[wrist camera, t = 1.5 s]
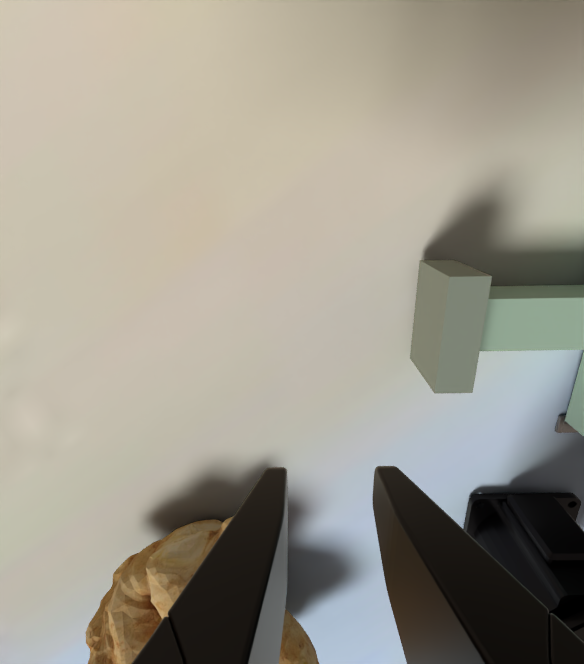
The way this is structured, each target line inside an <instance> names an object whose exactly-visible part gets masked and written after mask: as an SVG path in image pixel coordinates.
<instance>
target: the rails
mask: <svg viewBox="0 0 584 664" xmlns="http://www.w3.org/2000/svg"><path fill="white" fill-rule="evenodd" d="M565 418H566V415H559V416H558V420H557V424H556V427H555V431H556V432H557V433H571V432H578V431H576V430H575V429H574V428H573V427H572V426H570V425H569V424H568V423H567V422H566V421H565Z"/></svg>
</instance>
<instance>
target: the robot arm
mask: <svg viewBox="0 0 584 664" xmlns="http://www.w3.org/2000/svg"><path fill="white" fill-rule="evenodd" d="M479 502H480V503H479ZM580 505H581V501H580V500H579V499H578V497H577V496H576V495H575V494H573V493H522V494H475V495H473V496H471V497H470V499H469V502H468V507H467V513H466V518H465V523H464V529H462V528H461V527H460V526H459V525H458V524H457V523H456V522H455V521H454V520H453V519H452V518H451V517H450V516H449V515H447V514H446V513H445V512H444V511H443V510H442V509H441V508H440V507H439V506H438V505H437V504H436V503H435V502H434V501H433V500H431V499H430V498H429V497H428V496H427V495H426V494H425V493H424V492H423V491H422V490H421V489H420V488H419V487H418V486H417V485H415V484H414V483H413V482H412V481H411V480H410V479H409V478H408V477H407V476H406V475H405V474H404V473H403V472H402V471H401V470H399V469H398V468H397V467H395V466H378V467H376V469H375V473H374V486H373V510H374V516H375V522H376V528H377V534H378V540H379V546H380V552H381V559H382V565H383V571H384V576H385V582H386V587H387V591H388V595H389V599H390V603H391V607H392V610H393V614H394V618H395V621H396V625H397V629H398V632H399V636H400V639H401V643H402V647H403V650H404V654H405V658H406V661H407V664H584V531H583V530H582V529H581V528H580V526H579V525H578V524H577V523H576V522H575V521H576V517H577V514H578V511H579V508H580ZM287 577H288V487H287V470H286V468H284V467H275V468H267V469H266V470H265V471H264V473H263V474H262V475H261V477H260V478H259V480H258V481H257V483H256V484H255V486H254V487H253V489H252V490H251V492H250V493H249V494H248V496H247V497H246V499H245V500H244V502H243V503H242V505H241V506H240V508H239V509H238V510H237V512H236V513H235V515H234V516H233V518H232V519H231V521H230V522H229V524H228V525H227V526H226V528H225V529H224V531H223V532H222V534H221V535H220V537H219V538H218V540H217V541H216V542H215V544H214V545H213V547H212V548H211V550H210V551H209V553H208V554H207V556H206V557H205V559H204V560H203V561H202V563H201V564H200V566H199V567H198V569H197V570H196V572H195V573H194V575H193V576H192V577H191V579H190V580H189V582H188V583H187V585H186V586H185V588H184V589H183V591H182V592H181V593H180V595H179V596H178V598H177V599H176V601H175V602H174V604H173V605H172V607H171V608H170V609H169V611H168V617H167V616H165V617H164V618H163V619H162V621H161V622H160V624H159V625H158V627H157V628H156V629H155V631H154V632H153V634H152V635H151V637H150V638H149V640H148V641H147V643H146V644H145V645H144V647H143V648H142V650H141V651H140V652H139V654H138V655H137V656H136V658H135V659H134V661H133V662H132V663H131V664H279V657H280V649H281V640H282V632H283V623H284V614H285V606H286V596H287Z"/></svg>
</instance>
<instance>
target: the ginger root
mask: <svg viewBox="0 0 584 664" xmlns="http://www.w3.org/2000/svg"><path fill="white" fill-rule="evenodd" d="M232 518H233V517H231V518H228V519H226V520H225V521H224V522H221V521H219V520H203V521H197V522H194V523H191V524H188V525H185V526H183V527H180V528H178V529H176V530H175V531H173V532H172V533H170V534H169V535H168V536H166V537H165V538H163V539H162V540H159V541H156V542H154V543H152V544H151V545H149V546H148V547H146V548H145V549H143V550H142V551H141V552H140V553H137V554H135V555H132V556H130V557H129V558H128V559H126V560H125V561H124V562H123V564H122V565H121V566H120V567H119V568H118V569H117V570H116V571H115V572H114V574H113V585H112V587H111V589H110V590H109V591H108V592H107V593H106V595H105V596H104V597H103V599H102V600H101V604H100V607H99V609H98V611H97V612H96V614H95V616H94V617H93V619H92V620H91V622H90V623H89V626H88V628H87V631H86V643H87V645H88V647H89V648H90V659H89V662H88V664H131V663H132V662H133V661H134V659H135V658H136V656H137V655H138V654H139V652H140V651H141V650H142V648H143V647H144V645H145V644H146V643H147V641H148V640H149V638H150V637H151V635H152V634H153V632H154V631H155V629H156V628H157V627H158V625H159V624H160V622H161V621H162V619H163V618H164V617H165V616H167V617H168V611H169V609H170V608H171V607H172V605H173V604H174V602H175V601H176V599H177V598H178V596H179V595H180V593H181V592H182V591H183V589H184V588H185V586H186V585H187V583H188V582H189V580H190V579H191V577H192V576H193V575H194V573H195V572H196V570H197V569H198V567H199V566H200V564H201V563H202V561H203V560H204V559H205V557H206V556H207V554H208V553H209V551H210V550H211V548H212V547H213V545H214V544H215V542H216V541H217V540H218V538H219V537H220V535H221V534H222V532H223V531H224V529H225V528H226V526H227V525H228V524H229V522H230V521H231V519H232ZM279 664H319V662H318V659H317V655H316V651H315V648H314V646H313V644H312V642H311V640H310V638H309V636H308V635H307V634H306V632H305V631H304V629H303V628H302V627H301V625H300V624H299V623H298V622H297V620H296V619H295V618H294V617H293V616H292V615H291V614H290V613H289V612H288V611H287V610H286V609H285V614H284V623H283V632H282V640H281V649H280V657H279Z"/></svg>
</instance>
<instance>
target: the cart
mask: <svg viewBox="0 0 584 664" xmlns="http://www.w3.org/2000/svg"><path fill="white" fill-rule="evenodd" d="M491 280H492V276H491V275H488V274H486V273H484V272H481V271H479V270H477V269H474V268H472V267H470V266H467V265H465V264H463V263H460V262H458V261H456V260H420V263H419V273H418V283H417V293H416V303H415V313H414V323H413V333H412V343H411V353H410V359H411V360H412V362H413V363H414V365H415V366H416V367H417V369H418V370H419V372H420V373H421V375H422V376H423V377H424V379H425V380H426V382H427V383H428V385H429V386H430V388H431V389H432V390H433V392H434V393H472V392H473V386H474V381H475V375H476V369H477V363H478V357H479V351H525V350H584V285H544V286H491ZM565 421H566V422H567V423H568V424H569V425H570V426H572V427H573V428H574V429H575V430H576V431H578V432H579V433H580V434H581V435H582V436H583V437H584V352H583V356H582V360H581V363H580V367H579V371H578V374H577V378H576V381H575V385H574V389H573V392H572V396H571V400H570V403H569V407H568V410H567V414H566V418H565Z"/></svg>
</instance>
